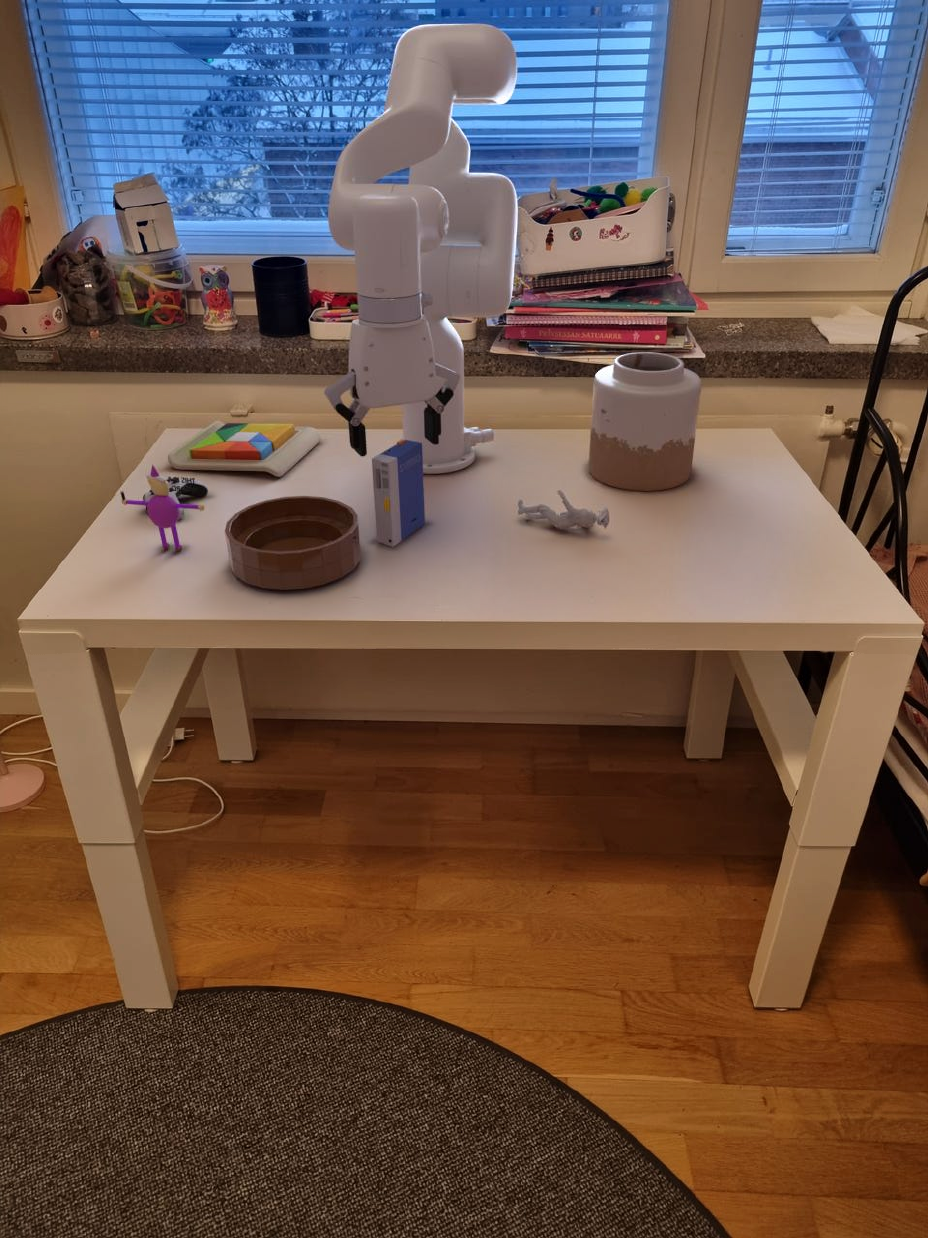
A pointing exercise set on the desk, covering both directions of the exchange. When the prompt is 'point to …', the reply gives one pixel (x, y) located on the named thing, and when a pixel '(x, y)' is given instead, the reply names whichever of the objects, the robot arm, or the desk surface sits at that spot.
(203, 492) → the game controller
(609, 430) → the vase
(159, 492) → the wizard figurine
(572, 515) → the soldier figure
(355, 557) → the bowl
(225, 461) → the wooden puzzle
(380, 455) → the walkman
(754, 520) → the desk surface
